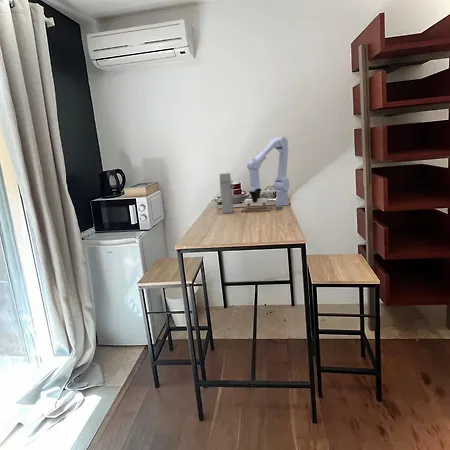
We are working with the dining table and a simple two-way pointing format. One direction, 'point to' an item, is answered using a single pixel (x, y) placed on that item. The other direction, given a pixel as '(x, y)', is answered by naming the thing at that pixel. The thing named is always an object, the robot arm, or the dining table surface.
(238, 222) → the dining table surface
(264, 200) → the shelf board
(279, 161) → the robot arm
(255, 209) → the peg stand
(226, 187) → the water bottle
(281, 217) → the dining table surface
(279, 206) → the block
